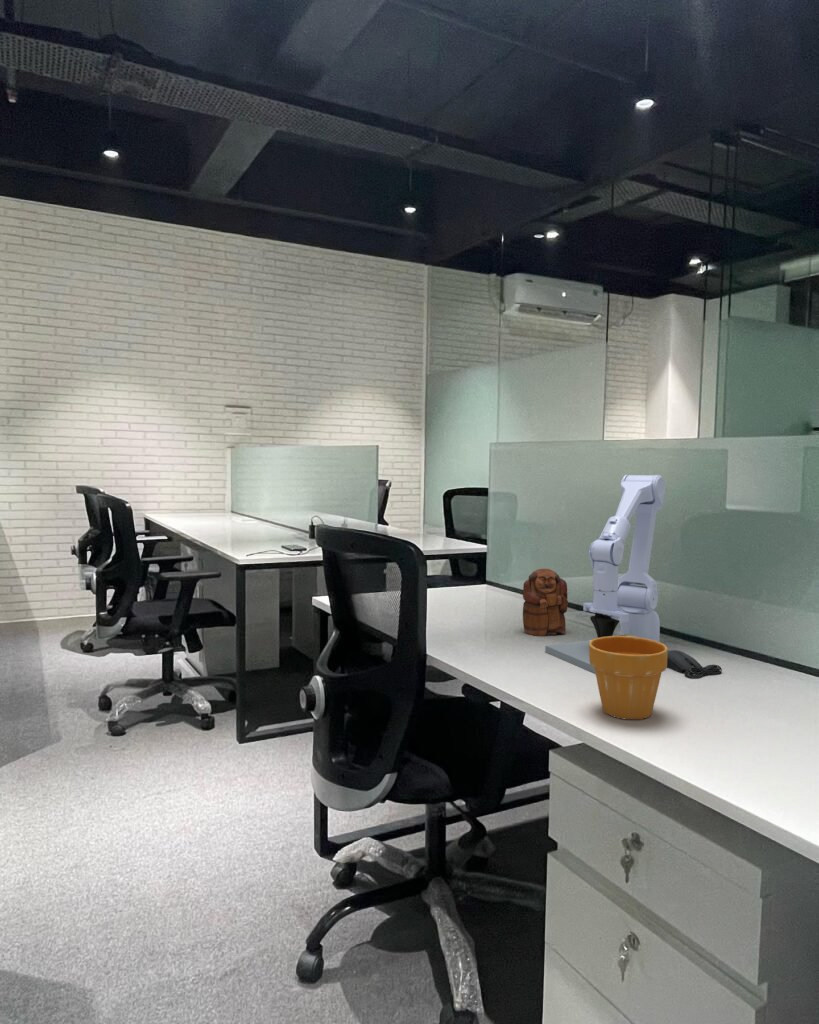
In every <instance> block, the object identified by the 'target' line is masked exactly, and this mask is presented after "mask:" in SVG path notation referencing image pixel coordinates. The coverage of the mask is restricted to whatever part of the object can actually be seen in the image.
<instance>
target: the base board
mask: <svg viewBox="0 0 819 1024" xmlns="http://www.w3.org/2000/svg"><path fill="white" fill-rule="evenodd" d="M590 640H591V639H589V640H581V641H580V640H579V641H573V642H565V643H556V644H550V645H549V644H547V645H545V647H544V652H545V653H547V654H549V655H552V656H553V657H556V658H558V659H560V660H563V661H565V662H567V663H569V664H573V665H575V666H577V667H579V668H581V669H584V670H587V671H589V672H590V673H593V674H594V675H596V673H595V669H594V667H593V666H592V665H591V664H590V660H589V643H590Z"/></svg>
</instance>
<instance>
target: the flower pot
mask: <svg viewBox="0 0 819 1024" xmlns="http://www.w3.org/2000/svg"><path fill="white" fill-rule="evenodd" d="M591 640H592V641H590V643H589V660H590V664H591V665H592V666H593V667H594V669H595V673H596V674H595V673H594V674H595V677H596V682H597V683H596V684H597V687H598V693H599V698H600V702H601V703H600V704H601V707H602V710H603V712H604V713H605V714H606V713H607V714H606V715H608V714H609V715H608V716H610V715H612V716H615V717H619V718H625V719H624V720H626V719H632V720H634V719H640V720H644V719H643V718H645V719H647V717H648V718H649V717H651V716H652V714H653V710H654V705H655V703H656V702H655V701H656V698H657V693H658V689H659V686H660V681H661V676H662V673H663V672H664V671H666V670H667V669H668V668H667V655H668V650H669V649H668V647H667V646H666V644H665V643H663V642H661V641H659V642H657V641H654V640H650V639H645V638H639V637H630V636H620V635H612V636H607V637H600V638H598V637H596V638H594V639H591ZM612 716H611V717H612ZM615 717H614V718H615ZM619 718H618V719H619Z"/></svg>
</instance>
